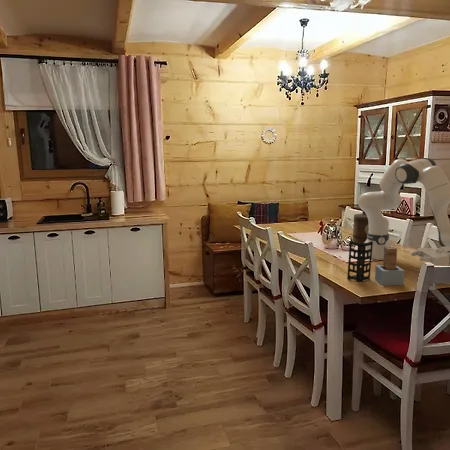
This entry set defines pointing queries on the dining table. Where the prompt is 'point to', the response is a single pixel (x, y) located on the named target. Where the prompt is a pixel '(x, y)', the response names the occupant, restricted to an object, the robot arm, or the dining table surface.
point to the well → (389, 276)
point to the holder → (359, 261)
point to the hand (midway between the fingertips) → (415, 256)
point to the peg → (389, 258)
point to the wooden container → (360, 227)
